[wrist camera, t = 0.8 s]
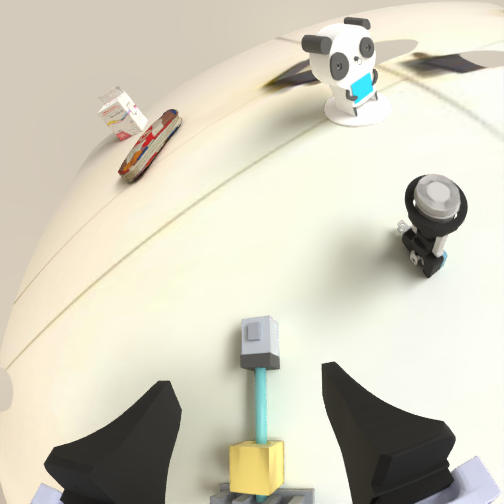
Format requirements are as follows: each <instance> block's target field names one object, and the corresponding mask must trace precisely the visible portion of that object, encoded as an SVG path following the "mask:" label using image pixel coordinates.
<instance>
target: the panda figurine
mask: <svg viewBox="0 0 504 504" xmlns="http://www.w3.org/2000/svg"><path fill="white" fill-rule="evenodd" d="M369 29H370V22H369V20H368V19H362V18H352V17H346V18H345V19H344V24H332V25H329V26H327V27H325V28H323V29H322V30H320V31H319V32H318V33H317V34H316V35H305V36H304V37H303V39H302V49H303V50H304V51H305V52H310V66H311V70H312V73H313V74H314V76H315V77H316V78H317V79H318V80H320V81H321V82H323V83H326V84H329V86H330V88H331V91H332V94H333V96H332V97H331V98H330V99H329V100H328V101H327V102H326V103H325V106H324V112H325V115H326V117H327V118H328V119H329V120H331V121H332V122H334V123H336V124H339V125H343V126H348V127H364V126H370V125H374V124H377V123H379V122H381V121H383V120H384V119H386V118H387V117H388V116H389V114H390V112H391V104H390V101H389V100H388V99H387V98H386V97H385V96H384V95H382V94H380V93H378V92H377V91H376V87H375V83H376V81H377V78H378V73H377V71H376V70H375V69H373V67H374V64H375V46H374V43H373V40H372V38H371V36H370V34H369V32H368V31H367V30H369ZM373 74H374V75H373Z"/></svg>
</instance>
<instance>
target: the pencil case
mask: <svg viewBox="0 0 504 504" xmlns="http://www.w3.org/2000/svg"><path fill="white" fill-rule="evenodd" d="M181 122H182V118H181V117H178V111H177V110H175V109H170V110H167V111H166V112H165V113H163V115H162V116H161V118H159V119H158V120H157V121H155V122H154V123H153V124H152V125H151V126H150V128H149V129H148V130H147V131H146V132H145V133H144V134H143V135H142V136H141V137H140V138H139V140H138V141H137V143H136V144H135V145H134V147H133V148H132V150H131V151H130V152H129V154H128V155H127V157H126V158H125V160H124V162H123V163H122V165H121V167H120V169H119V171H118V173H119V174H120V175H121V176H122V177H123V178H124V179H125V180H126V181H127V182H130V181H132V180H134V179H136V177H138V176H139V175H140V174H141V172H143V170H144V169H145V168H146V167H147V166H148V165H149V164H150V163H151V162H152V160H153V159H154V157H155V156H156V155H157V153H158V151H159V150H160V149H161V147H162V146H163V145H164V143H165V142H166V141H167V140H168V138H169V137H170V136H171V135H172V134H173V132H174V131H175V130H176V129H177V128H178V127H179V125H180V124H181Z"/></svg>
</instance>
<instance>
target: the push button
mask: <svg viewBox="0 0 504 504" xmlns="http://www.w3.org/2000/svg"><path fill="white" fill-rule="evenodd" d="M414 199H415V202H416V203H415V206H414V204H413V200H414ZM405 205H406V208H407V211H408V217H409V219H410V221H411V222H412V224H413V225H412V227H411V226H408V225H407V224H406V223H405V222H404V221H403V220H401V221H400V222H398V226H399V227H398V228H397V230H398V231H399V232H400V233H401V234H402V235H403V236H402V241H403V243H404V245H405V246H406V247H407V248H408V250H409V251H410V252H411V255H410V260H411V261H412V262H413V263H414V264H415V265H416V266H417V263H418V261H419V262H420V264H421V265H422V266H423V272H424V274H425V275H426V276H427V277H428V278H430V277H431V276H432V275H433V274H434V273H436V272H437V271H438V270H439V269H440V268H441V267H442V266H443V265H444V263H445V260H446V258H447V253H446V252H445V251H444V250H443V247H444V244H445V242H446V239H447V236H448V234H450V233H452V232H454V231H456V230H457V229H458V227H459V226H460V225H461V224H462V223H463V221H464V219H465V217H466V214H467V208H468V206H467V200H466V197H465V195H464V193H463V192H462V190H461V189H460V188H459V187H458V186H457V185H456V184H455V183H454V182H453V181H452V180H450V179H448V178H447V177H445V176H443V175H437V174H431V175H423V176H420V177H418V178H416V179H414V180H413V181H412V182H411V183H410V184H409V185H408V187H407V189H406V192H405ZM456 213H457V217H456V218H455V219H454V217H455V214H456ZM401 224H404V225H405V226H403V225H401ZM400 229H402V230H403V231H401V230H400ZM413 259H414V260H415V262H414V261H413Z"/></svg>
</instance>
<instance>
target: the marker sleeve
mask: <svg viewBox="0 0 504 504" xmlns="http://www.w3.org/2000/svg"><path fill="white" fill-rule="evenodd" d="M229 448H230V491H231V492H238V493H247V494H256V495H268V496H269V495H270V494H272V493H273V492H274V491H275V490H276V489H278V488H279V487H280V486H281V485H282V484H283V483H284V441H267V444H256V441H250V440H249V441H245V442H242V443H238V444H234V445H230V446H229Z"/></svg>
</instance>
